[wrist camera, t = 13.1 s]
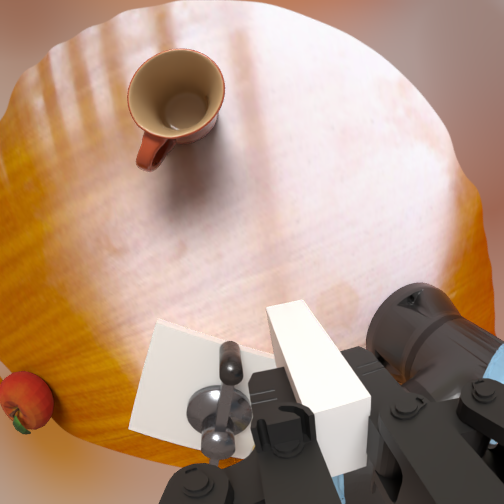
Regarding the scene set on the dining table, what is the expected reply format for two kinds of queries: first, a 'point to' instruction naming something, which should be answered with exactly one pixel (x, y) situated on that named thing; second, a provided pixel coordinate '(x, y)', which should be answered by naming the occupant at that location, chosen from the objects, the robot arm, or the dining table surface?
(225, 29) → the dining table surface
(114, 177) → the dining table surface
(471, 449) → the robot arm
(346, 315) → the dining table surface
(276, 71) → the dining table surface
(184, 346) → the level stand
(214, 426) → the lever handle
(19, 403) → the fruit
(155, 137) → the mug
